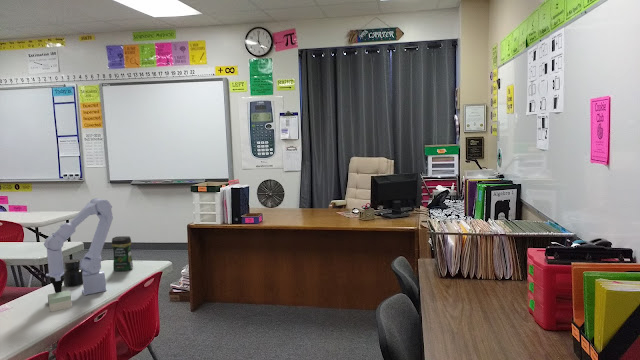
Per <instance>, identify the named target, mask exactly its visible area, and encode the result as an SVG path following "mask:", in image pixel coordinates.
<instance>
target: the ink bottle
mask: <svg viewBox="0 0 640 360" xmlns="http://www.w3.org/2000/svg"><path fill="white" fill-rule="evenodd" d="M80 262H81V259H79V258H74V259H67V260H65V261H63V266H64V274H63V275H64V277H65V278H64V281H63V286H64V287H67V288H74V287H78V286H82V285H83V277H82V272H83V270H81V268H80Z"/></svg>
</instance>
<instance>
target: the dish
mask: <svg viewBox="0 0 640 360" xmlns="http://www.w3.org/2000/svg"><path fill="white" fill-rule="evenodd" d="M72 304H73V303H72V299H71V300H68V301H63V302H58V303H54V304H49V303H48V306H49V313H50V312H56V311H62V310H66V309H71V308H73V305H72Z"/></svg>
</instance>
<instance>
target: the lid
mask: <svg viewBox="0 0 640 360" xmlns="http://www.w3.org/2000/svg"><path fill="white" fill-rule="evenodd" d="M48 298H49V302H48V305H49V304H54V303H58V302H63V301H68V300H71V301H72V294H71V292H70V290H65V291H61V292H58V293H55V292H54V293H49V294H47V299H48Z"/></svg>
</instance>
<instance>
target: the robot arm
mask: <svg viewBox="0 0 640 360" xmlns="http://www.w3.org/2000/svg"><path fill="white" fill-rule="evenodd" d="M112 208H113V206H112V205H111V203H110V201H108V200H107V199H102V198H101V199H100V198H98V197H97V198H92V199H91V200H90V201H89V202H87V203H86V204H85V205H84V207H83V208H82V209H81V210H80V211H79V212H78V213H77V214H76V215H75V217H74V218H73V219H71V220H70V221H69V222H65V223H63V224H62V223H61V225H59V228H58V229H57V230H56V231H55V232H53V233H52V234H51V235H50V236H48V237H47V238H46V239H45V240H44V243H43V246H44V248H46V257H47V266H48V273H46V274H45V276H46V277H49V278H48V279H49V281H50V282H51V284H52V286H53V290H54V293H58V292H63V291H62V289H63V284H64V282H63V281H64V278H65V277H64V275H63V274H64V271H65V267H64V260H63V259H64V258H63V252H62V248H63V246H64V243H65V242H67V240H68V239H69V238H70V237H71V236H72V235H73V234H75V232H76V228H77V227H78V226H79V225H80V224H82V222H84V221H85V220H86V219H87V218H88V217H90V216H93V215H96V216H97V218H98V219H99V220H98V224H97V226H96V229H95V233H94V235H93V238H92V241H91V243H90V246H89V249H88V251H87V252H86V253H85V254H84V257H83V258H82V259H80V268H81V270H83V272H82V277H83V284H82V286H83V287H82V288H83V289H82V290H81V291H82V294H83V296H86V295H87V296H88V295H92V294H96V293H97V294H98V293H101V292H106V291H107V282H106V275H105V271H104V270H101V269H102V258H103V257H102V256H101V254H102V251H103V249H104V245H105V242H106V240H107V237H108V233H109V232H110V228H111V225H112V222H113V219H114V218H113V210H112Z"/></svg>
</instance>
